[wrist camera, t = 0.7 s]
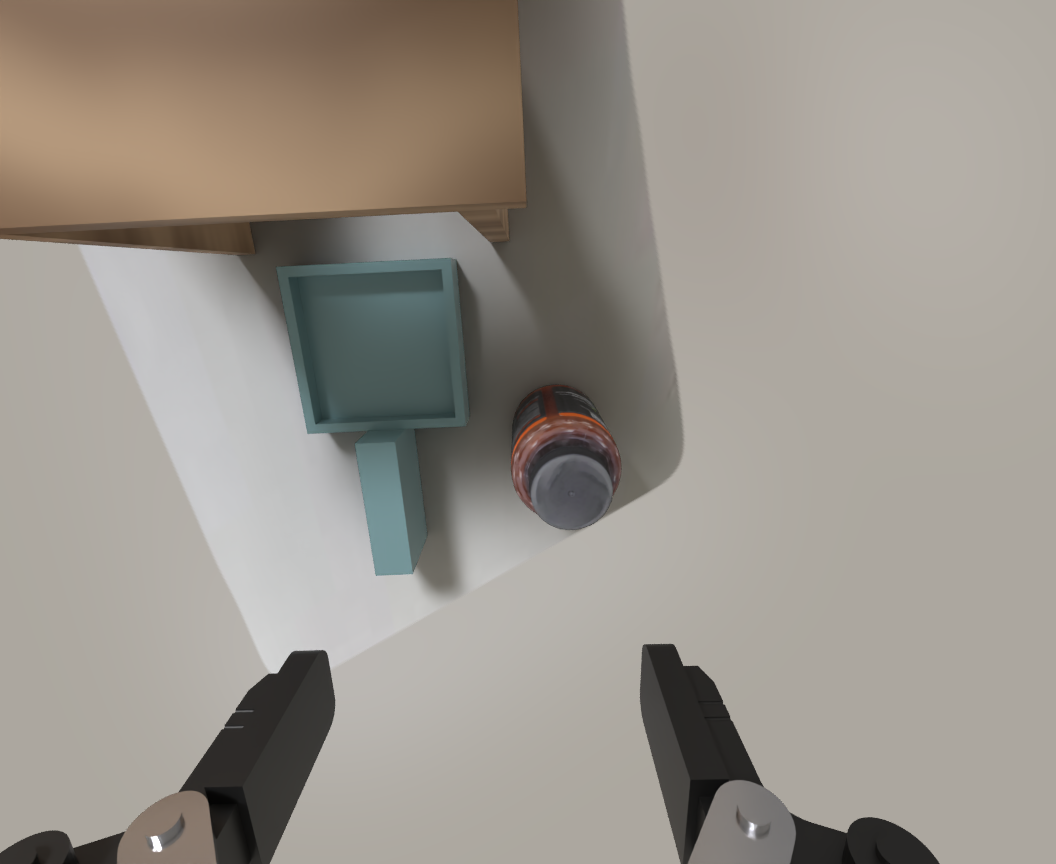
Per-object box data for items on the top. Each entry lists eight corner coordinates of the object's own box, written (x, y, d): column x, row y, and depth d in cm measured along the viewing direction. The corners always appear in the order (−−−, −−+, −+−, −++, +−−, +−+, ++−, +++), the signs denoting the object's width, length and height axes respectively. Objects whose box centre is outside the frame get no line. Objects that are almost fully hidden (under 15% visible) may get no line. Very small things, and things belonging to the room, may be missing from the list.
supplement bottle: (505, 456, 35) (497, 538, 24) (521, 374, 33) (520, 422, 22) (588, 471, 35) (616, 558, 24) (608, 391, 33) (647, 446, 23)
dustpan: (294, 267, 31) (252, 265, 26) (456, 259, 31) (443, 256, 26) (343, 539, 37) (315, 578, 32) (479, 533, 37) (473, 571, 32)
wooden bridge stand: (173, 45, 27) (-337, -288, 11) (515, 26, 27) (502, -340, 11) (220, 255, 31) (-121, 234, 14) (525, 240, 31) (526, 200, 14)
